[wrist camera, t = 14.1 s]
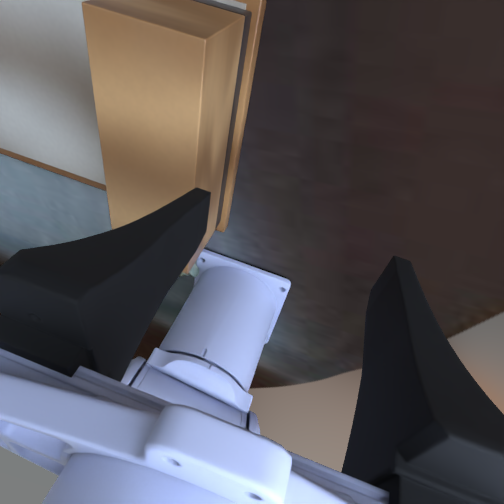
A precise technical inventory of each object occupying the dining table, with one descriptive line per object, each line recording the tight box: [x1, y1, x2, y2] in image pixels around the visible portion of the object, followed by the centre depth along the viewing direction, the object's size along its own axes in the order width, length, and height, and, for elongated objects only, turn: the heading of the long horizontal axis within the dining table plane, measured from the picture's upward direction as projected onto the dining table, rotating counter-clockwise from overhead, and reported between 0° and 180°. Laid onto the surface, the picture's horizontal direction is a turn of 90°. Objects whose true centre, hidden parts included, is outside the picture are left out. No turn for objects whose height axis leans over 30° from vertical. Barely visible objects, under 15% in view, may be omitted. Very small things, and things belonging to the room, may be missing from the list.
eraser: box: [82, 0, 252, 274], centre depth 20 cm, size 13×5×6 cm, turn 170°
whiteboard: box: [0, 0, 266, 232], centre depth 23 cm, size 15×20×1 cm
